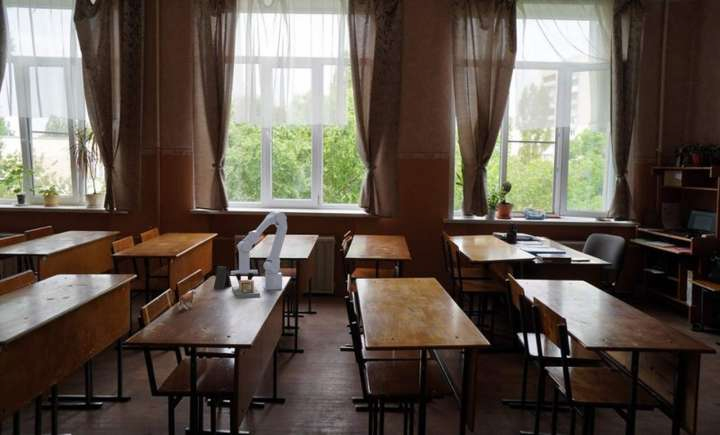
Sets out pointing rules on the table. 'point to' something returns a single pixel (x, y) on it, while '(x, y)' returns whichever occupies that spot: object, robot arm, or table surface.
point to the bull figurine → (187, 299)
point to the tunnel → (246, 282)
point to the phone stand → (222, 278)
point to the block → (246, 287)
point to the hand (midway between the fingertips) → (244, 287)
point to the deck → (245, 293)
